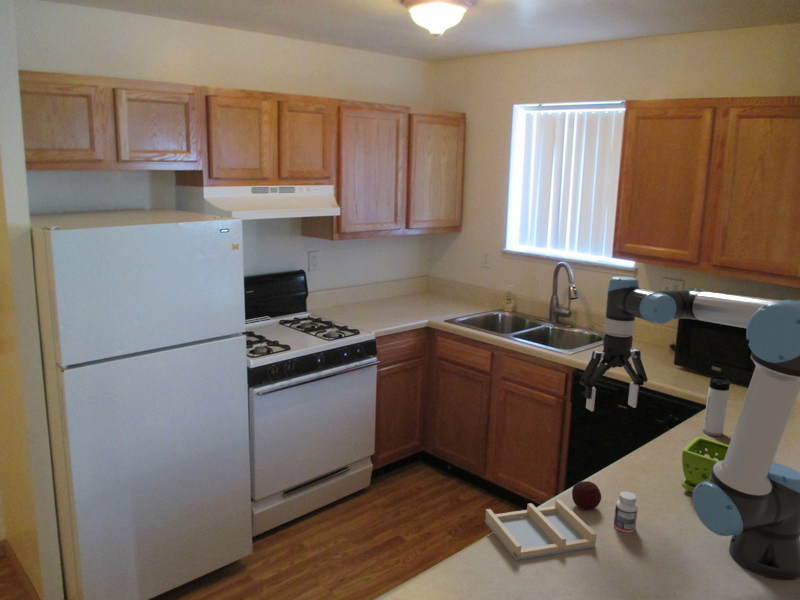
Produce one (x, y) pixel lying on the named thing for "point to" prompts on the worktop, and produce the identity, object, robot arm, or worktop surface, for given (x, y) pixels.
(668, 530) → the worktop surface
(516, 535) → the open tray
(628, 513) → the pill bottle
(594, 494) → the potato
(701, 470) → the flower pot
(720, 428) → the travel mug
